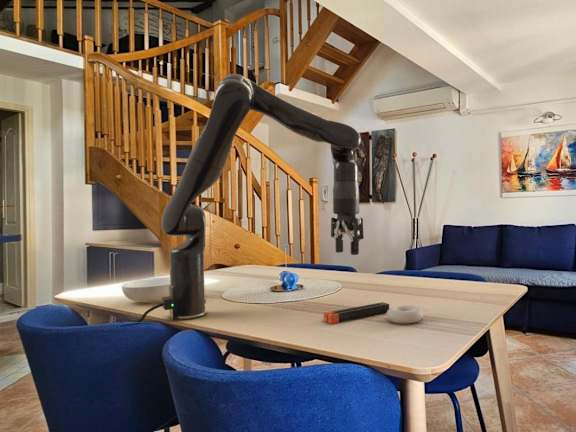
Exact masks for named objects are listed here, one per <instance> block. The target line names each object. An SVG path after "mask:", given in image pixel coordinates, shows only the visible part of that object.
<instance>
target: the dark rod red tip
mask: <svg viewBox="0 0 576 432" xmlns="http://www.w3.org/2000/svg"><path fill="white" fill-rule="evenodd" d="M389 309H390V303H386V302H376V303H371V304H365V305H359V306H354V307H349V308H348V307H347V308H344V309H343V308H342V309H338V310H337V309H336V310H330V311H325V312H323V321H324V322H326V323H328V324H330V325H334V324H339V323H342V322H345V321H351V320H352V321H353V320H358V319H361V318H366V317H367V318H368V317H371V316H376V315H382V314H387V311H388V310H389Z"/></svg>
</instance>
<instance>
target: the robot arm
mask: <svg viewBox="0 0 576 432" xmlns="http://www.w3.org/2000/svg"><path fill="white" fill-rule="evenodd" d="M250 111H254V112H257V113H260V114H262V115H265V116H267V117H268V118H270V119H272V120H274V121H275V122H277V123H279V124H280V125H281V126H283V127H284V128H286V129H287V130H289V131H291V132H292V133H295V134H297V135H299V136H301V137H303V138H306V139H308V140H311V141H314V142H316V143H327V144H328V145H330V153H331V158H332V164H333V187H332V212H333V213H332V214H334V215H336V216H333V217H331V219H330V237H331V238H333V240H335V253H343V252H344V237H345V235H346V236H348V237H349V240H350V255H351V256H356V255H359V252H360V241H361V240H364V238H365V237H364V219H363V217H357V216H356V215H358V214H360V188H359V187H360V186H359V167H358V164H357V163H356V162H355V158H354V151H356V150H357V149H358V148H359V147H360V145H361V144H362V143H361V141H362V137H361V134H360V132H359V131H358V130H357V129H356V128H355V127H353V126H351V125H348V124H346V123H343V122H339V121H336V120H331V119H329V118H326V117H323V116H321V115H319V114H316V113H314V112H312V111H309V110H307V109H305V108H302V107H300V106H297V105H295V104H293V103H291V102H289V101H287V100H285V99H283V98H281V97H279V96H277V95H275V94H274V93H271V92H270V91H268V90H266V89H265V88H263V87H261V85H258V84H257V83H255V82H253V80H251V79H249V78H247V77H246V76H244V75H242V74H239V73H230V74H227V75H225V76H224V77H222V79H221V80H220V81H219V83H218V85H217V87H216V89H215V93H214V96H213V102H212V105H211V109H210V112H209V115H208V119H207V121H206V124H205V126H204V128H203V130H202V131H201V133H199V136H198V137H197V139H196V140H195V143H194V145H193V147H192V148H191V150H190V151H191V152H190V153H189V156H188V158H187V161H186V164H185V167H184V170H183V172H182V174H181V177H180V179H179V181H178V183H177V186H176V188H175V189H174V191H173V193H172V195H171V196H170V198H169V200H168V202H167V204H166V205H165V207H164V209H163V213H162V215H161V220H160V221H161V222H160V224H161V230H162V232H163V233H164V235H167V236H169V237H185V239H184V241H183V242H182V243H181V244H179V245H178V246H176V247H173V248H172V249H170V250H169V256H168V257H169V277H170V285H169V296H168V297H162V302H160V303H159V304H156V305H154V306H152V307H150V308H148V309H147V310H145V312H144V313H143V314H142V316H141V317H140V318H139V319H137V320H135V321H134V320H133V322H139V323H141V322H142V321H143V320H144V319H145V318H146V317H147V315H148V314H149V313H151V312H153V311H155V310H156V309H158V308H161V307H162V309H163V310H164V311H169V317H170V319H172V320H173V321H177V320H191V319H197V318H200V317H203V316H205V315H206V303H207V301H206V294H205V292H206V290H205V261H204V260H205V259H204V257H205V256H204V255H205V254H204V253H205V248H206V230H207V229H206V228H207V224H206V223H207V222H206V213H205V211H204V209H203V207H202V206H200V205H199V204H193V202H194V201H195V200H196V199H197V198H198V197H199V196H201V195H202V194H204V193H206V191H207V190H209V189H210V188H211V187H212V186H213V185H215V184H216V183H217V182H218V180H219V179H220V177H221V176H222V173H223V171H224V169H225V167H226V164H227V162H228V159H229V156H230V154H231V151H232V147H233V146H232V145H233V141H234V138H235V137H236V135H237V132H238V131H239V129H240V127H241V125H242V123H243V122H244V120H245V119H246V117H247V115H248V114H249V112H250ZM123 322H124V321H120V322H119V323H123Z"/></svg>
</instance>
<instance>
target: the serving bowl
mask: <svg viewBox="0 0 576 432" xmlns="http://www.w3.org/2000/svg"><path fill="white" fill-rule="evenodd" d="M169 285H170V276H161V277H151V278H150V277H149V278H143V279H138V280H132V281H128V282H125V283H123V284H121V286H120V287H121V291H122V293H123V295H124V297H126V298H127V299H128V300H130V301H133V302H137V303H144V304H155V303H162V297H168V296H169Z"/></svg>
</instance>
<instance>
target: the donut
mask: <svg viewBox="0 0 576 432" xmlns="http://www.w3.org/2000/svg"><path fill="white" fill-rule="evenodd" d="M423 316H424V312H423V310H422V309H421V308H420V307H419V306H416V305H412V304H411V305H409V304H401V305H395V306H392V307H389V310H388V311H387V313H386V318H387V319H388V321H389V322H391V323H394V324H401V325H407V324H414V323H418V322H419V321H421V320H422V319H423Z"/></svg>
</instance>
